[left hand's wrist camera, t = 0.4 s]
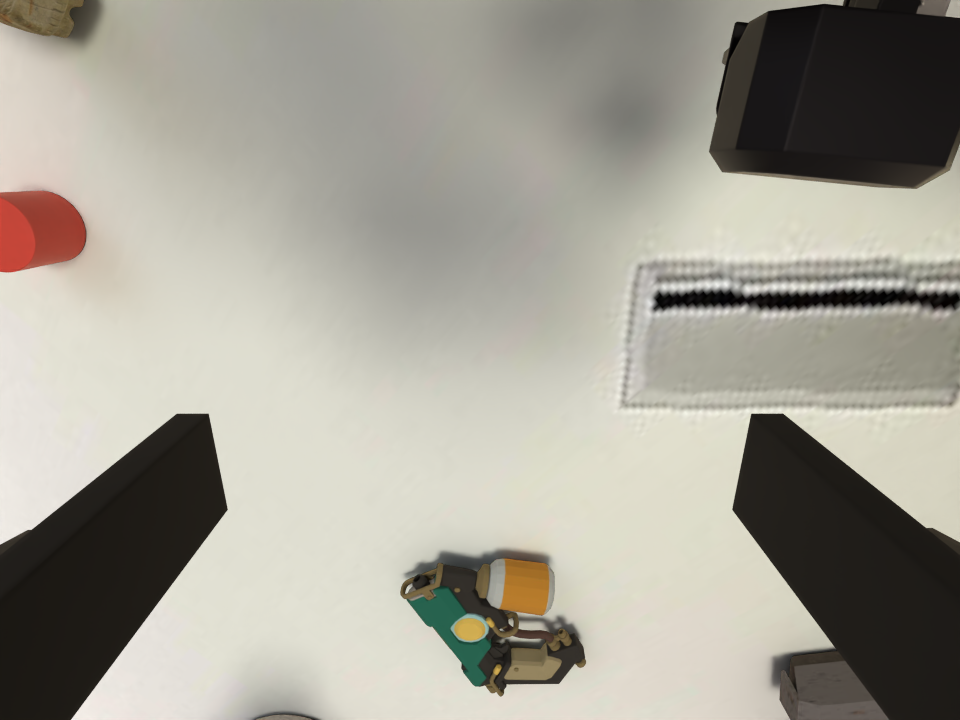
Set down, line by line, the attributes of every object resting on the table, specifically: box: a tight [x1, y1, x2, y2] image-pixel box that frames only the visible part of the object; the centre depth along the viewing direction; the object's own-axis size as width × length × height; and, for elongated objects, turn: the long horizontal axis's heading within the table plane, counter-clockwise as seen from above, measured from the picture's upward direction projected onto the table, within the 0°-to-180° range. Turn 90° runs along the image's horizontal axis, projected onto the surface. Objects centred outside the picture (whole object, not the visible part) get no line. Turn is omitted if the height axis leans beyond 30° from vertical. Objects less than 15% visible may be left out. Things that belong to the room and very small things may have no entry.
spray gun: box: [400, 558, 586, 696], centre depth 48 cm, size 4×17×15 cm
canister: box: [0, 191, 86, 272], centre depth 35 cm, size 5×5×5 cm
